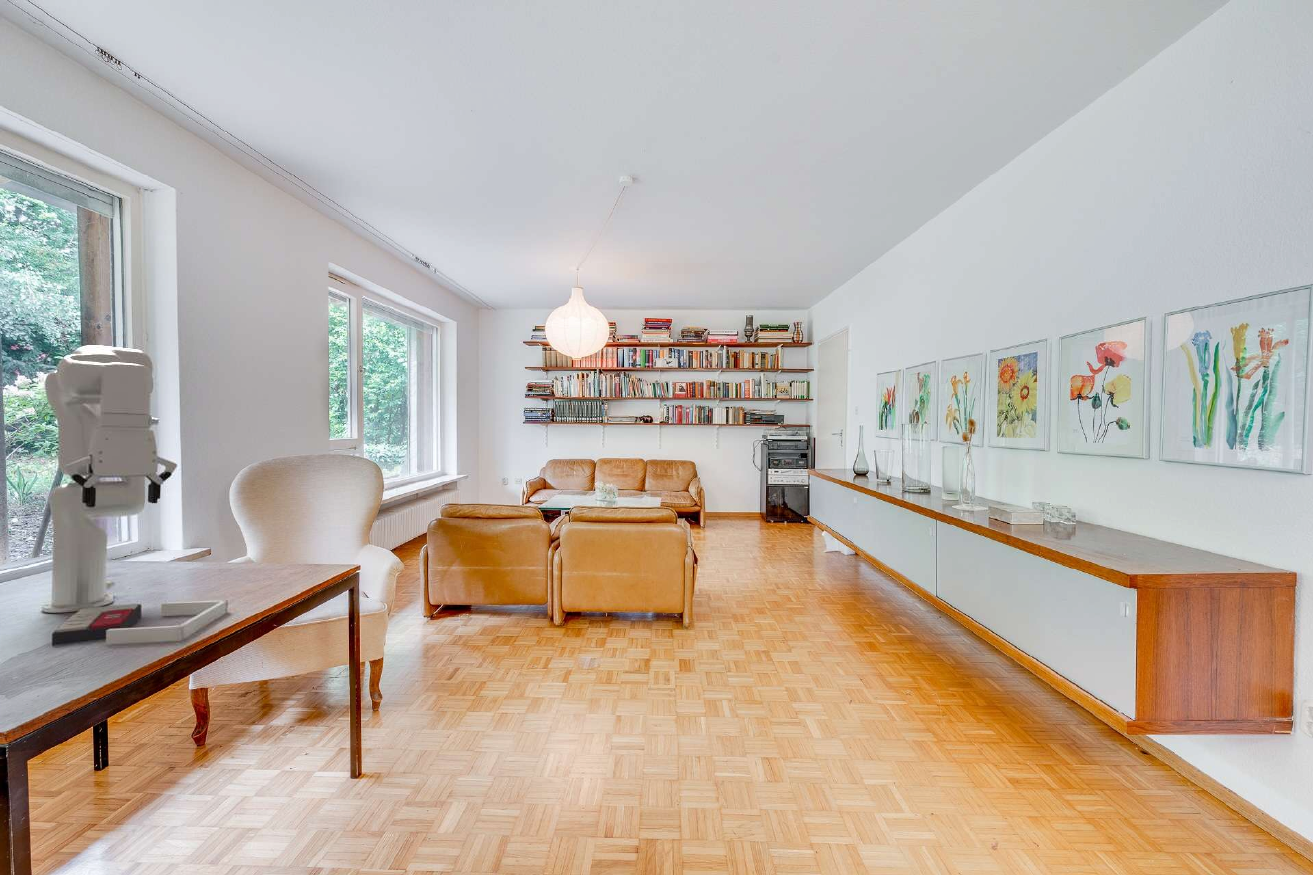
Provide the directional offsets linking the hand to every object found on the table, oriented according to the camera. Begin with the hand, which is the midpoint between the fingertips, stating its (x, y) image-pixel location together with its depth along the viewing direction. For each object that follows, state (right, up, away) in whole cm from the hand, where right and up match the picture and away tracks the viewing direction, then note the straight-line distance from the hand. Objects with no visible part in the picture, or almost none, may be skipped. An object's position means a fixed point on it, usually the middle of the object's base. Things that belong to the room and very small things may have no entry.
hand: (122, 504), depth 115 cm
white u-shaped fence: (-2, -30, +13) cm, 33 cm away
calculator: (-14, -30, +10) cm, 35 cm away
